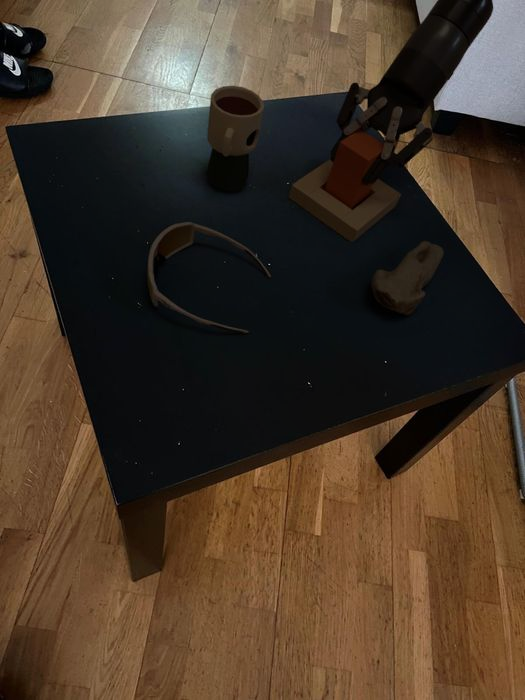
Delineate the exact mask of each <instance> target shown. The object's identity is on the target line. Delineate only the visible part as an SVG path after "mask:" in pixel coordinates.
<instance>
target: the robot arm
mask: <svg viewBox="0 0 525 700" xmlns="http://www.w3.org/2000/svg"><path fill="white" fill-rule="evenodd" d="M493 1H494V0H436V2H435V3H434V4H433V6H432V8H431V9H430V11H429V12H428V14H427V15H426V17H425V18H424V19H423V20H422V21H421V23H420V24H419V25H418V26H417V27H416V28H415V29H414V30H413V32H412V33H411V35H410V37H408V39H407V40H406V42H405V44H404V45H403V47H402V48H401V49H400V51H399V52H398V54H397V55H396V56H395V59H393V61H392V62H391V64H390V65H389V66H388V68H387V70H386V71H385V73H384V74H383V75H382V77H381V78H380V81H379V82H378V83H377V84H376V85H374V86H372V87H371V88H370V89H368V88H365V87H361V86H360V85H359V83H358V82H352V83H351V84H350V86H349V89H348V90H347V93H346V95H345V99H344V101H343V103H342V105H341V108H340V110H339V113H338V115H337V118H336V124H337V125H338V128H339V129H340V130H341V135H340V137H338V140H337V141H336V142H335V144H334V145H333V147H332V148H331V150H330V153H329V155H330V158H329V159H330V160H331V161H332V163H333V162H334V159H335V156H336V153H337V150H338V147H339V144H340V142H341V141H342V140H344V139H345V138H347V137H348V136H350V135H351V134H353V133H355V132H356V131H358V130H359V129H361V130H363V131H364V132H366V133H368V131H370V130H371V129H373V130H375V131H378V132H380V133H382V135H383V136H384V143H383V144H384V146H383V150H382V153H381V156H380V157H379V158H378V157H377V158H376V160H375V161H374V163H373V164H372V165H371V167H370V168H369V170H368V171H367V172H366V174H365V175H364V177H363V178H362V182H363V184H365V185H366V186H368V185H369V183H371V184H373V183H375V182H376V181H377V179H379V178H380V176H382V174H383V172H384V171H385V170H386V168H387V167H388V166H394V167H397V168H398V169H401V168H403V167H405V166H406V165H407V164H408V163H409V162H410V161H411V160H412V159H413V158H415V156H417V155H418V154H419V153H420V152H421V151H423V149H425V148H426V147H427V146H428V145H429V144H430V143H432V141H433V139H434V138H433V137H434V136H433V135H434V134H433V130H432V128H430V127H427V126H426V125H425V124H424V123H423V116H424V115H425V113H426V111H428V108H429V107H430V106H431V105H432V103H433V102H434V101H435V99H436V98H437V96H438V94H439V93H440V92H441V90H442V89H443V88H444V87H445V85H446V84H447V82H448V81H449V80H450V79H451V78H452V77H453V75H454V73H455V71H456V70H457V68H458V67H459V66H460V63H461V62H462V60H463V58H464V56H465V55H466V53H467V51H468V50H469V48H470V47H471V46H472V44H473V43H474V41H475V40H476V39H477V37H478V36H479V35H480V33H481V31H483V29H484V28H485V26H486V25H487V23H488V22H489V20H490V18H491V17H492V15H493V12H494V3H493ZM365 100H367V103H366V109H365V110H364V111H362V112H361V113H360V114H359V115H357V116H356V117H355V119H354V120H352V119H353V116H354V114H355V112H356V109H357V107H358V106H360V105H361V104H363V102H364V101H365ZM351 121H352V122H351ZM413 130H415V131H414V133H413V134H412V137H413V139H412V140H410V141H409V142H408V143H407V144H406V145H405V146H404V147H403V148H402V149H400V151H398V153H395V151H396V150H397V148H398V144H399V141H400V139H401V135H403V134H406V133H408V132H411V131H413Z"/></svg>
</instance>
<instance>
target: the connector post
mask: <svg viewBox="0 0 525 700" xmlns="http://www.w3.org/2000/svg"><path fill="white" fill-rule="evenodd" d="M383 146H384V143H383V142H382V141H381V140H379V139H377V138H375V137H374V136H372V135H371V134H369V133H368V132H364V131H363V130H361V129H359V130H358V131H356V132H355V133H353V134H351V135H350V136H348V137H347V138H345V139H344V140H342V141H341V142H340V144H339V147H338V150H337V153H336V156H335V159H334V162H333V165H332V169H331V172H330V175H329V178H328V181H327V184H326V187H325V190H324V191H326V192H327V193H329V194H330V195H331V196H333V197H334V198H336V199H337V200H339V201H340V202H342V203H343V204H344V205H346V206H347V207H349V208H350V209H352V210H353V209H355V208H356V207H357V206H358V205H360V204H361V203H362V202H363V201H364V199H365V198H367V197H368V195H369V192H370V190H371V187H372V185H373V184H371V183H369V185H368V186H366V185H365V184H363V182H362V178H363V177H364V175H365V174H366V172H367V171H368V170H369V168H370V167H371V165H372V164H373V163H374V161H375V160H376V158H377V157H378V158H379V157H380V156H381V153H382V150H383Z"/></svg>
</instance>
